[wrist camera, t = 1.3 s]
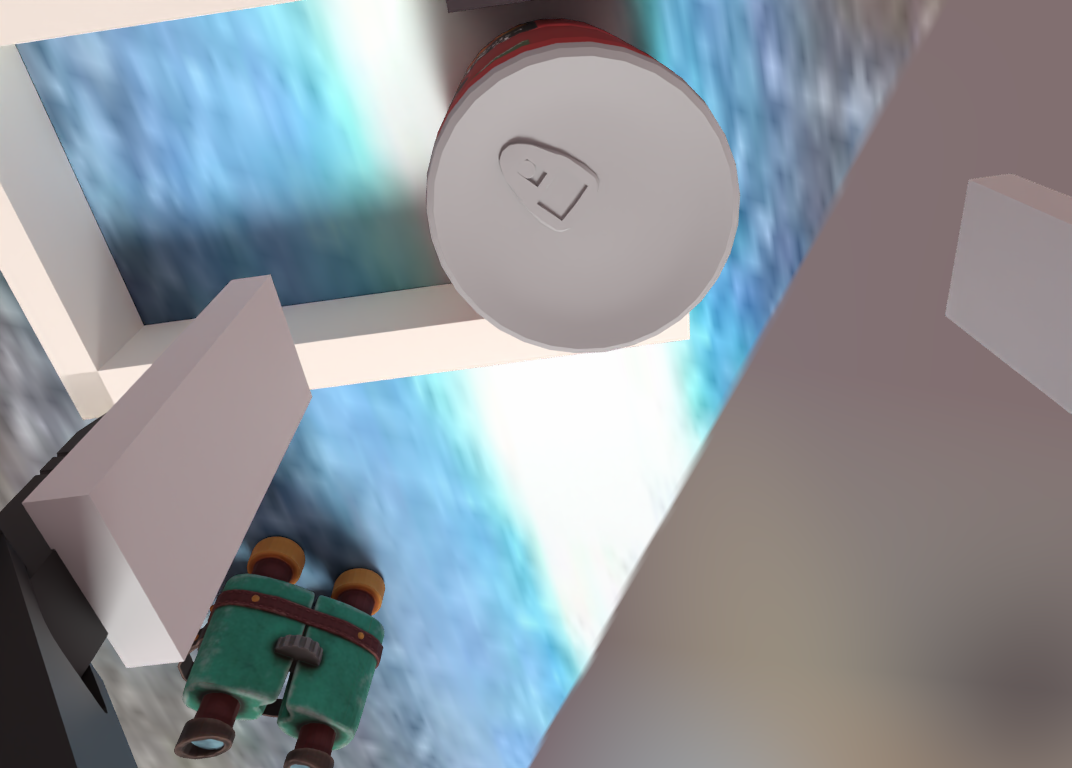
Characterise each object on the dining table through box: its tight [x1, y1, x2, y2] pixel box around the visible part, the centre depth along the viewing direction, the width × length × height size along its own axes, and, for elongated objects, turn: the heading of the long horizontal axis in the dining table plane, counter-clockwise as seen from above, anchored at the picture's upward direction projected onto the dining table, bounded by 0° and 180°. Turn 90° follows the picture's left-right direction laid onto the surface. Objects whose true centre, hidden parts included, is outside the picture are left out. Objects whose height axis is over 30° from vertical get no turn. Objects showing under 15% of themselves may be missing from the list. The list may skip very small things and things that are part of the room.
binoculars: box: [174, 537, 385, 768], centre depth 35 cm, size 9×11×10 cm
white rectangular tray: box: [0, 0, 690, 420], centre depth 25 cm, size 15×24×4 cm, turn 97°
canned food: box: [426, 19, 740, 353], centre depth 22 cm, size 8×8×11 cm
